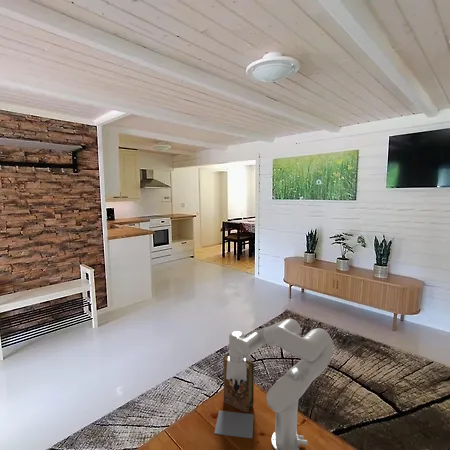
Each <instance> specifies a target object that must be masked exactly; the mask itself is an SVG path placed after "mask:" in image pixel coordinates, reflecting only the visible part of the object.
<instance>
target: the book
mask: <svg viewBox="0 0 450 450" xmlns="http://www.w3.org/2000/svg"><path fill="white" fill-rule="evenodd" d="M228 357H229V354H225V355H224V356H223V403H225V404H227V405H230V406H232V407H233V408H236V409H238V410H240V411H242V412H245V413H246V414H249V412H250V408H251V407H254V404H255V403H254V402H255V399H254V398H255V397H254V395H255V391H254V390H255V388H254V387H255V383H254V382H255V380H254V379H255V369H254V368H255V363H254V362H252V361H250V360H247V359H246V364H247V375H246V376H247V381H243V382H241V383H240V389H239V390H238V392H235V389H234V384H233V383H232V382H231V380H228V379H226V376H227V375H226V374H227V361H228ZM237 381H238V379H236V382H237Z"/></svg>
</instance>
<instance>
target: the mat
mask: <svg viewBox="0 0 450 450" xmlns="http://www.w3.org/2000/svg"><path fill="white" fill-rule="evenodd" d="M254 417H255V415H254V413H253V414H252V413H247V412H245V413H243V412H235V411H228V410H227V411H226V410H220V409H219V410H218V415H217V420H216V424H215V429H214V433H213V434H214V435H219V436H220V435H221V436H229V437H237V438H244V439H253V434H254V433H253V432H254V420H255V419H254Z"/></svg>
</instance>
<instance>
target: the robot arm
mask: <svg viewBox="0 0 450 450" xmlns="http://www.w3.org/2000/svg"><path fill="white" fill-rule="evenodd" d="M300 333H301V325H300V324H299V322H298V321H297V320H295V319H294V318H287V319H286V318H285V319H284V320H281V321H279V322H277V323H274V324H272V325H269V326H268V327H262V328H261V329H258V330H255V331H254V332H252V333H250V334H249V335H247V336H246V337H245V335H244V333H243V332H242V331H240V330H235V331H234V330H233V331H231V332H230V333H229V335H228V336H229V337H228V346H229V347H228V350H229V352H228V353H229V357H228V361H227V374H226V375H227V376H226V379H228V380H231V382H232V383H233V384H234V389H235V392H238V390H239V389H240V383H241V382H243V381H247V376H246V375H247V364H246V360H247V358H248V357H249V356H251V355H252V354H254V353H255V352H256V351H257V350H258V349H260V348H261V347H263V346H265V345H268V346H270V347H279V348H281V349H282V350H284V351H286V352H288V353H290V354H291V355H293V356H295V357H297V358H298V359H300V360H299V361H298V362H297V363H296V364H294V365H292V367H290V368H289V369H288V370H287V371H286V372H285V373H284V374H283V375H282V376H281V377H279V379H278V380H276V382H275V383H273V385H272V386H271V387H270V388H269V389H268V391H267V393H266V396H265V397H266V403H267V405H268V407H269V408H270V410H272V411H274V412H275V416H274V417H275V418H274V419H275V420H274V421H275V422H274V423H275V425H274V426H275V427H274V432H273V434H272V436H271V439H270V440H271V445H272V447H273V449H274V450H300V448H301V445H304V446H308V439H305V438H304V435H302V434H301V435H300V434H298V408H299V407H298V406H299V399H301V398H302V396H304V393H305V392H306V391H307V390H308V388H309V387H310V385H311V384H312V383H313V381H314V380H316V378H318V377H319V376H320V375H321V374H322V372H324V371H325V369H326V368H327V367H328V366H329V364H330V362H331V361H332V358H333V354H334V343H333V339H332V337H331V336H330V333H328V331H327V330H325V329H324V328H321V327H319V328H318V327H317V328H313V329H311V330H310V331H308V332H307V333H306V334H305V335H304V336H303V337H302V336H300ZM236 379H238V381H237V382H236Z"/></svg>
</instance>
